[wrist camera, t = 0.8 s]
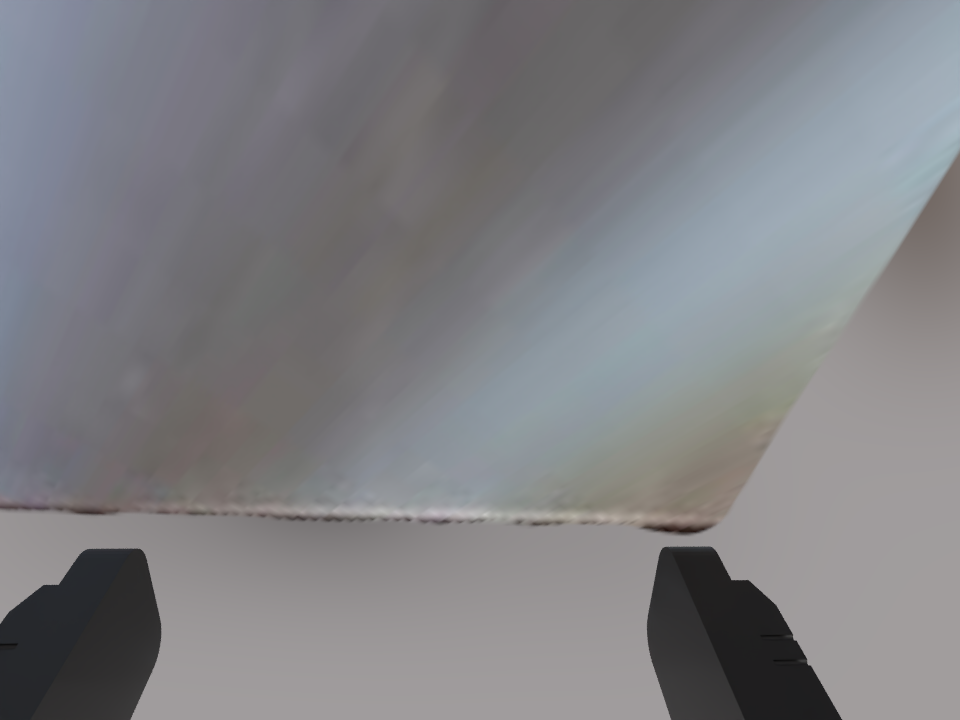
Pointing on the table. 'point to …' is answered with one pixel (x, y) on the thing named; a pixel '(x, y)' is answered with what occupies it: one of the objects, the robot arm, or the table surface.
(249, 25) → the table surface
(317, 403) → the table surface
